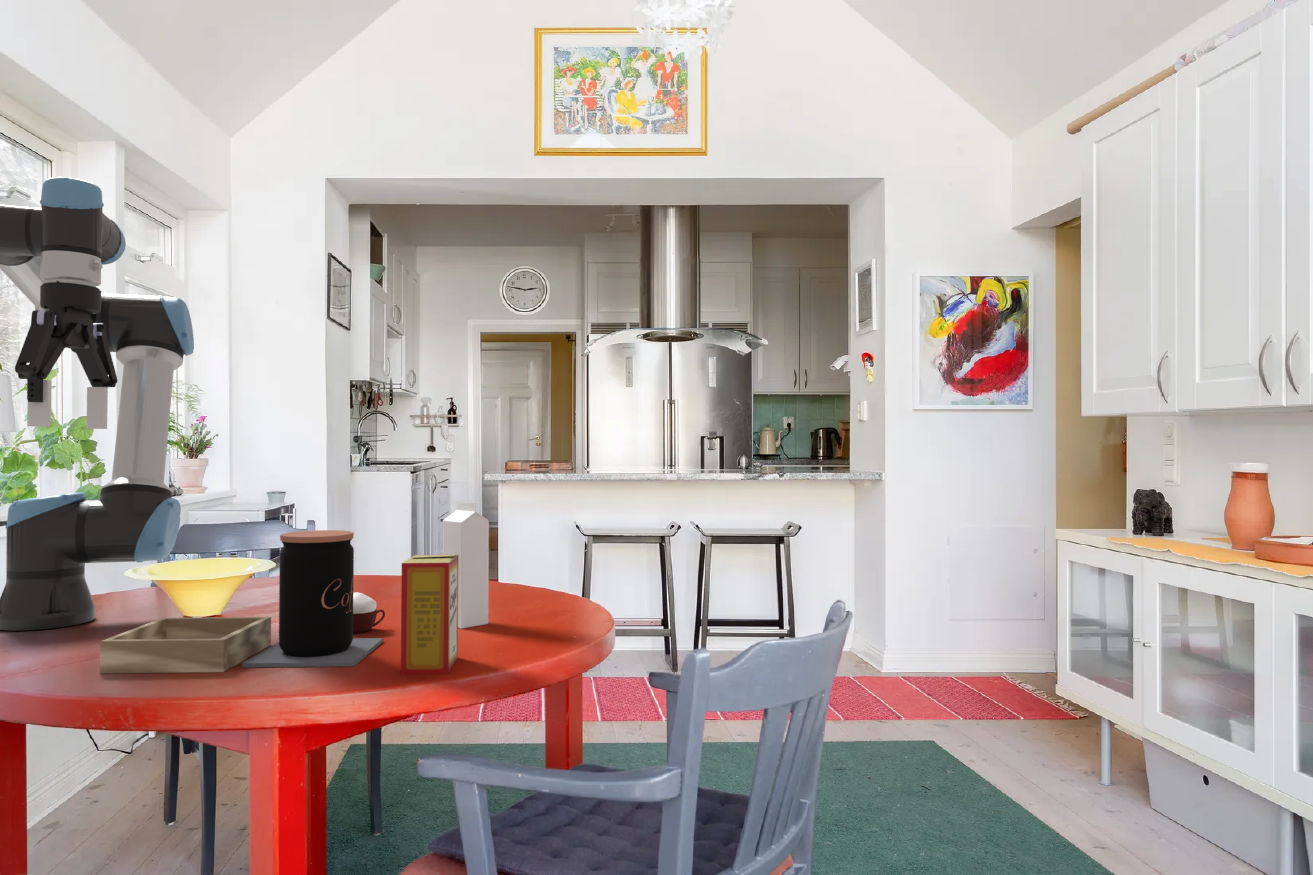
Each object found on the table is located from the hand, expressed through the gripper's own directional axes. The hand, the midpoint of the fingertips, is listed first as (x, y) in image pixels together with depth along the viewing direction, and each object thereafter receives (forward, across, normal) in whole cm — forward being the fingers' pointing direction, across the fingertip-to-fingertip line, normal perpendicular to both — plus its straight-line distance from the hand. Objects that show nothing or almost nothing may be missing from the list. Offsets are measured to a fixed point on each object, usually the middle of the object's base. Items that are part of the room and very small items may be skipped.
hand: (69, 427), depth 127 cm
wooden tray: (+35, +2, -17) cm, 39 cm away
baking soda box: (+35, -4, -54) cm, 64 cm away
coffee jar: (+34, +4, -35) cm, 49 cm away
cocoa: (+35, +21, -36) cm, 54 cm away
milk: (+35, +26, -54) cm, 69 cm away
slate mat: (+35, +4, -35) cm, 49 cm away
